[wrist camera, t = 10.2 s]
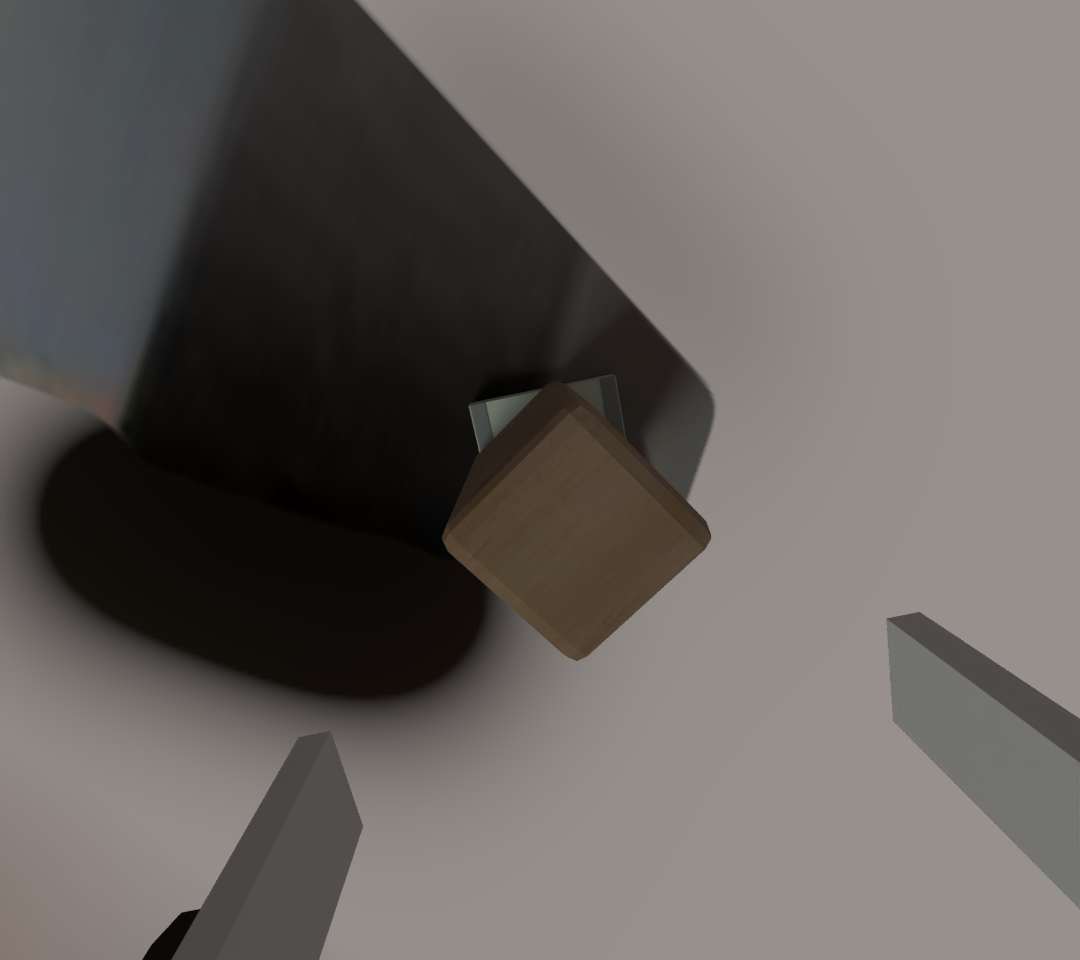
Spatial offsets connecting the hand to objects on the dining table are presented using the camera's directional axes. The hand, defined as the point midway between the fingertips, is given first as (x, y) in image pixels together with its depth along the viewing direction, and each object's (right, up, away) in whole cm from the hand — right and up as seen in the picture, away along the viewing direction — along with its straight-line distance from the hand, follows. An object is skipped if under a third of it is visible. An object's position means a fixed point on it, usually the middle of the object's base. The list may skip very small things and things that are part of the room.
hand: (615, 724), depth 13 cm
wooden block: (0, +7, +33) cm, 34 cm away
